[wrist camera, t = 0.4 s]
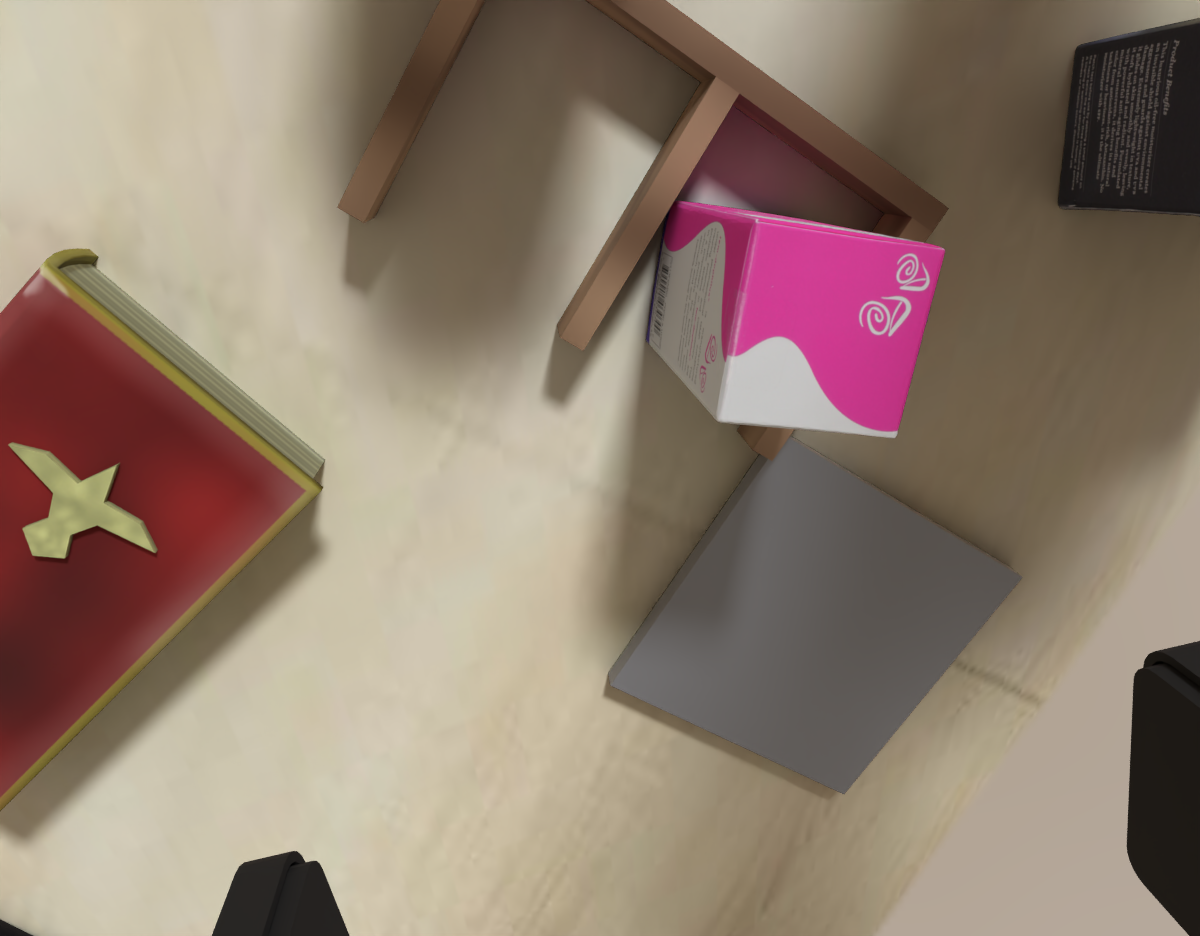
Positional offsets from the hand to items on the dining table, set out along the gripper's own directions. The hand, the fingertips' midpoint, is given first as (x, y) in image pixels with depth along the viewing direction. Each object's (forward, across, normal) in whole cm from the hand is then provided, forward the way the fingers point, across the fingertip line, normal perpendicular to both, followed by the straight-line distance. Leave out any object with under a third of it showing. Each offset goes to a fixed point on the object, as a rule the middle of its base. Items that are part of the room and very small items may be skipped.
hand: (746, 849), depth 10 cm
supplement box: (+27, -7, -2) cm, 28 cm away
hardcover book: (+28, +22, +3) cm, 36 cm away
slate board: (+27, -9, +15) cm, 32 cm away
